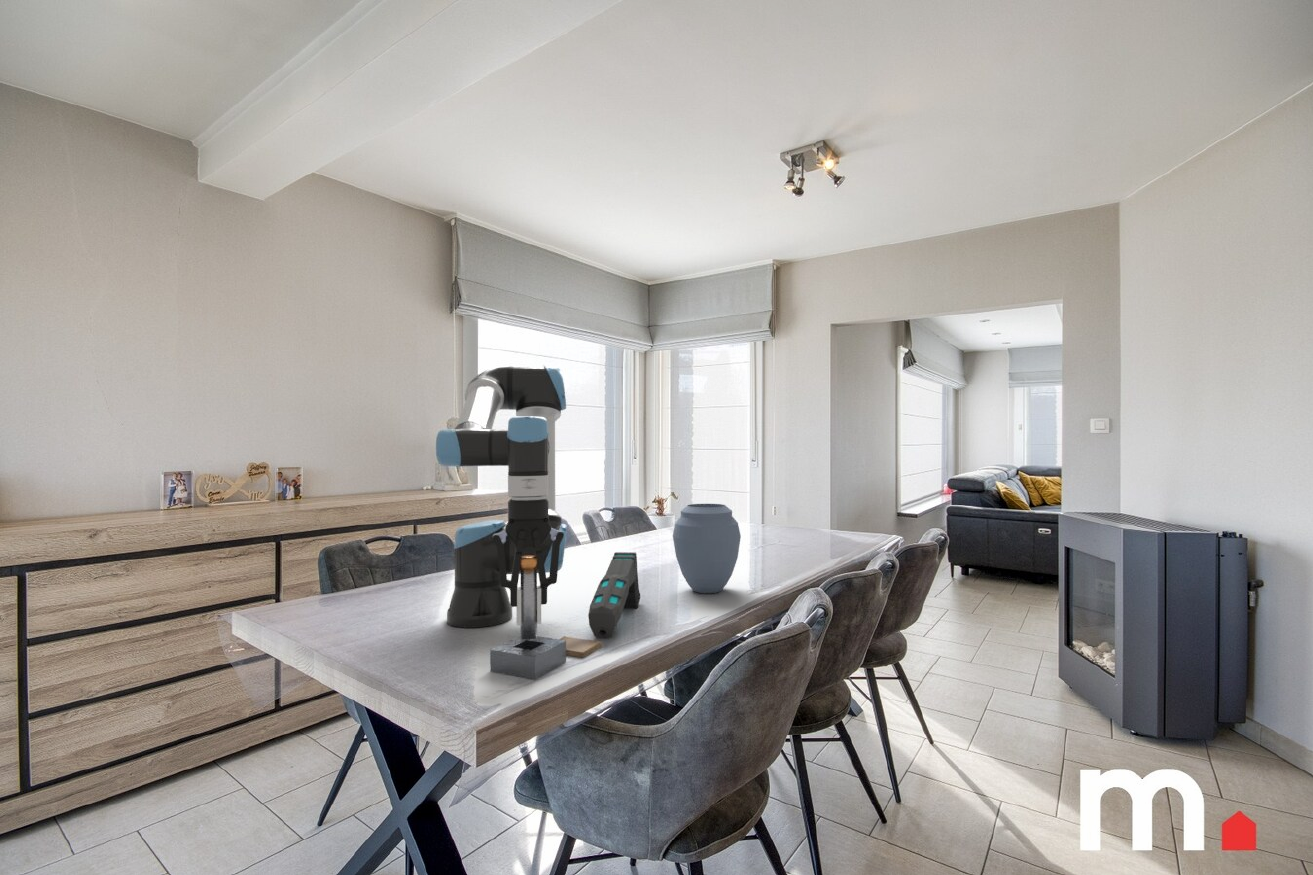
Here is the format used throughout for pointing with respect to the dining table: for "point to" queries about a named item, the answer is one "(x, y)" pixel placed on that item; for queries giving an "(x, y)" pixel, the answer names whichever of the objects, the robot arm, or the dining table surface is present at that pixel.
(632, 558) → the gun
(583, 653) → the rest pad
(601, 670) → the dining table surface
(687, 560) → the vase
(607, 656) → the dining table surface
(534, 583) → the capped test tube
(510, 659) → the block
